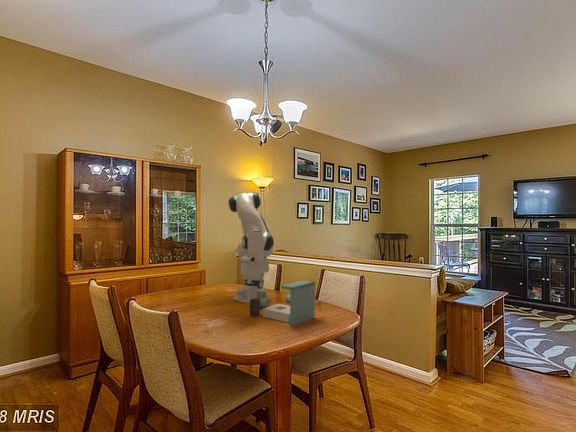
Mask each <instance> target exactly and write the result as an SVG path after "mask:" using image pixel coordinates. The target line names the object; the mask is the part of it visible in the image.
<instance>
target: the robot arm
mask: <svg viewBox="0 0 576 432" xmlns="http://www.w3.org/2000/svg"><path fill="white" fill-rule="evenodd" d="M227 203H228V205H227V206H228V208H229V210H230V212H232V213H236V214H237V216H238V218H239V219H240V224H241V228H242V233H243V236H242V239H241V243H239V244H238V246H237V247H236V254H237V256H238V257H239V258H240V261H241V263H240V275H241V276H243V277H245V279H244V280H243V282H244V283H243V285H242V286H240V287H239V288H238V289H237V290H236V295H235V296H233V297H232V300H234V301H238V302H241V303H244V304H250V299H254V298H256V297H257V290H265V288H264V286H265V285H264V283H265V279H264V278H265V274H266V273H269V271H270V265H269V258H268V257H270V256H272V254H273V252H274V243H275V241H274V237H273V235H272V234H271V232H270V230H269V228H268V226H267V224H266V222H265V220H264V218H263V216H262V214H261V213H259V212H258V208H260V206H261V205H262V198H261V195H260V193H259V192H256V191H253V192H246V193H245V192H243V193H239V194H238V195H236V196H232V197H230V198H229V199H228V202H227Z"/></svg>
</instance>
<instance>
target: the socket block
mask: <svg viewBox="0 0 576 432" xmlns="http://www.w3.org/2000/svg"><path fill="white" fill-rule="evenodd" d="M262 317H263V318H267V319H271V320H275V321H280V322H284V323H289V324H290V305H286V304H282V303H276V304H274V305H270V306H269V305H268V306H267V307H265V308H262Z"/></svg>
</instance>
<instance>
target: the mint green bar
mask: <svg viewBox="0 0 576 432" xmlns="http://www.w3.org/2000/svg"><path fill="white" fill-rule="evenodd" d="M285 300H286V301H287V302H288V301H289V302H288V303H290V294H289V293H287V294H286V295H285Z"/></svg>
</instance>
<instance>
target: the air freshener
mask: <svg viewBox="0 0 576 432" xmlns="http://www.w3.org/2000/svg"><path fill="white" fill-rule="evenodd" d="M256 299H260V309H263V308H264V307H265V308H266V307H269V305H270V303H271V299H270V298H269V297H267V290H266V289H264V290H257V297H256Z"/></svg>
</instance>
